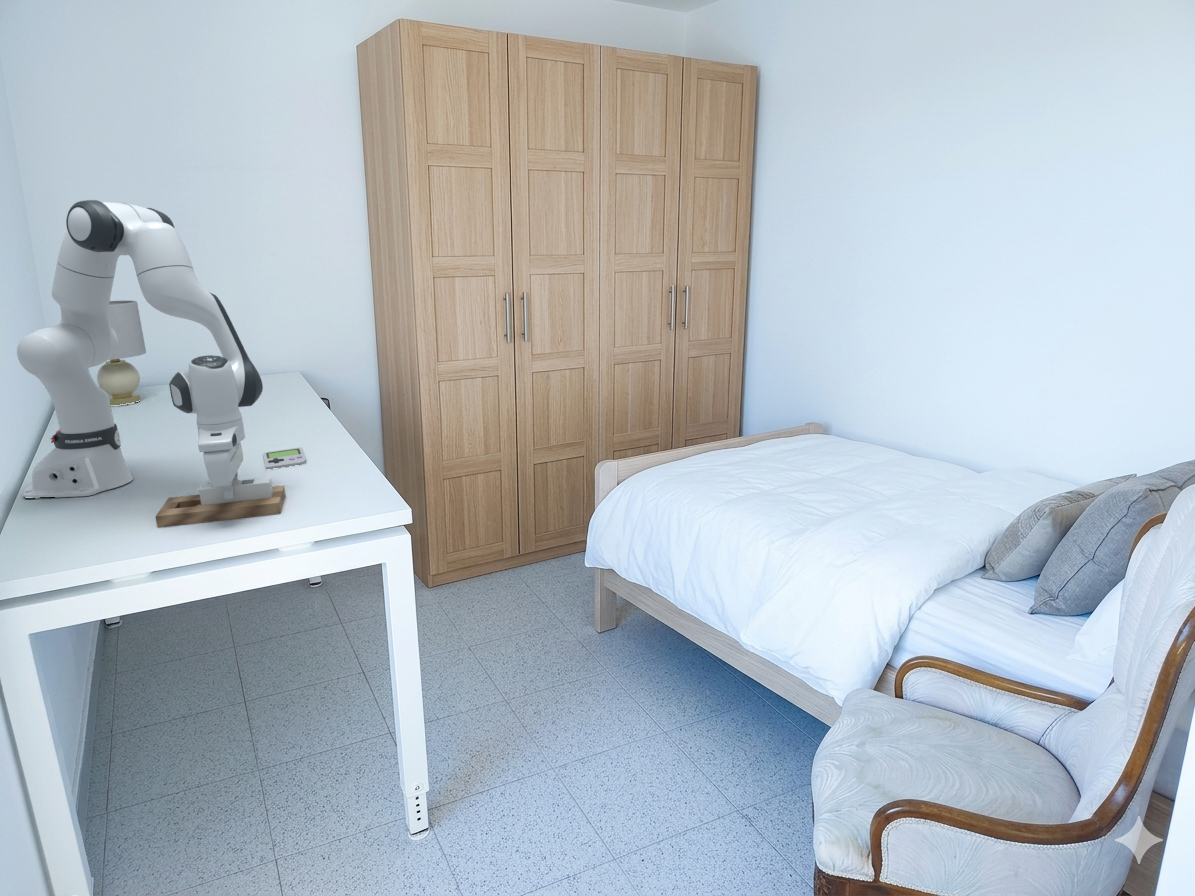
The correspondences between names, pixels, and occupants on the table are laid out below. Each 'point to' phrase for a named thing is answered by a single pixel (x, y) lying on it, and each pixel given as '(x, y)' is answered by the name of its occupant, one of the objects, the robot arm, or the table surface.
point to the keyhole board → (216, 509)
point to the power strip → (237, 491)
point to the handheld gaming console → (284, 458)
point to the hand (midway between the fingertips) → (231, 494)
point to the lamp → (123, 354)
